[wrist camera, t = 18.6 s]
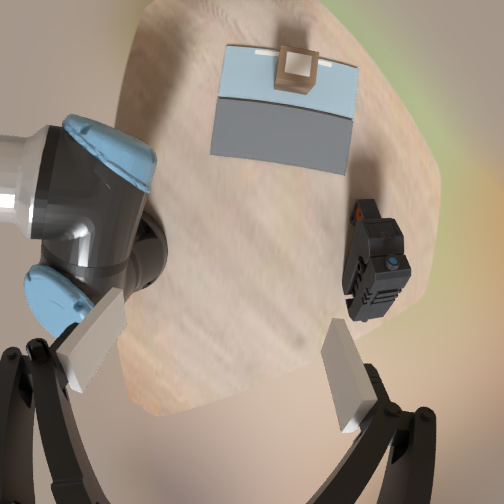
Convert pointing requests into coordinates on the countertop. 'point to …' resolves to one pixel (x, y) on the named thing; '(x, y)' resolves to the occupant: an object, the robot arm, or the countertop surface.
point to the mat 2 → (281, 135)
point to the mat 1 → (262, 88)
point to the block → (296, 70)
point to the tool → (374, 263)
